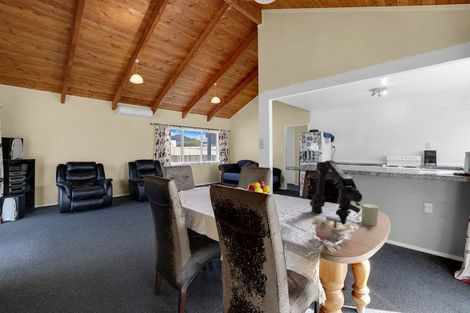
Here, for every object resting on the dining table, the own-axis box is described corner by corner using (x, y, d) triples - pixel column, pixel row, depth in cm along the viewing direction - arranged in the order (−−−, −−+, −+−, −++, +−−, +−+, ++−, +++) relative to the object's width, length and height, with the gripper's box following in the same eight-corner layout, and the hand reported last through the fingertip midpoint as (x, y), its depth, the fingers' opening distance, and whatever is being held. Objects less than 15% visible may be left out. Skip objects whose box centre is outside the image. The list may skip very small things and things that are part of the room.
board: (308, 224, 141) (308, 222, 141) (321, 220, 150) (321, 217, 149) (341, 236, 124) (341, 234, 124) (354, 231, 132) (354, 228, 132)
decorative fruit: (332, 244, 114) (333, 226, 114) (315, 242, 116) (316, 224, 116) (329, 237, 123) (330, 219, 123) (314, 235, 125) (315, 218, 125)
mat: (292, 226, 138) (292, 225, 138) (302, 222, 144) (302, 222, 144) (305, 231, 130) (305, 231, 130) (315, 227, 136) (315, 227, 136)
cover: (313, 221, 143) (313, 216, 143) (319, 219, 146) (319, 215, 146) (324, 225, 136) (325, 220, 136) (330, 223, 140) (330, 218, 140)
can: (369, 226, 140) (370, 207, 139) (357, 221, 149) (358, 203, 148) (380, 224, 142) (381, 206, 141) (368, 219, 151) (369, 202, 150)
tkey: (325, 225, 137) (325, 217, 137) (326, 223, 139) (327, 216, 138) (344, 230, 129) (345, 222, 129) (346, 229, 131) (346, 221, 130)
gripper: (358, 203, 117) (357, 232, 118) (362, 197, 133) (361, 222, 134) (336, 200, 124) (334, 227, 125) (342, 194, 139) (341, 218, 140)
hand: (343, 223), depth 131 cm, fingers open, 3 cm apart
